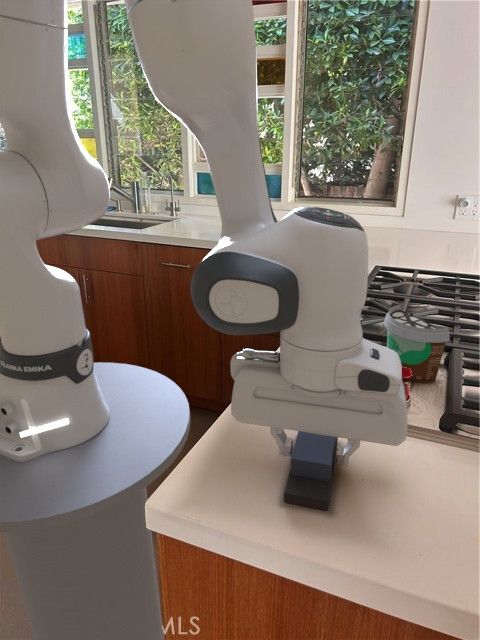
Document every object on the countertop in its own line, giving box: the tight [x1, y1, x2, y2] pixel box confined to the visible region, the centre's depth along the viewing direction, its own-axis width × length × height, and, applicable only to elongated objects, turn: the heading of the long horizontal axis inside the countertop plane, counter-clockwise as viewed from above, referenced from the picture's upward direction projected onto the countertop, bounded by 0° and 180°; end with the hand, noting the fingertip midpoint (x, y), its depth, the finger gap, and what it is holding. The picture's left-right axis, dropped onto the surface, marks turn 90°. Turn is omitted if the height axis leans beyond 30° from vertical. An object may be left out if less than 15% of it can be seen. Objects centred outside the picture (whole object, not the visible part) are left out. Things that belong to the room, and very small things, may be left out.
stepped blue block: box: [283, 431, 339, 511], centre depth 56 cm, size 12×5×4 cm, turn 164°
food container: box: [383, 304, 451, 384], centre depth 77 cm, size 12×6×10 cm, turn 21°
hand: (313, 457), depth 57 cm, fingers open, 5 cm apart
